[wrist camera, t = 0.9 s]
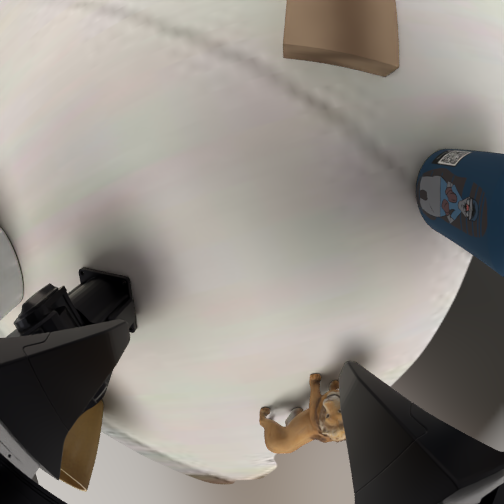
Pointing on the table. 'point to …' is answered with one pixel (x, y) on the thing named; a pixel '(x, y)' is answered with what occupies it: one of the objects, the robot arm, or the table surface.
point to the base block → (343, 33)
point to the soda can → (466, 201)
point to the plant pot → (82, 448)
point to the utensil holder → (9, 277)
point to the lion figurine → (307, 421)
